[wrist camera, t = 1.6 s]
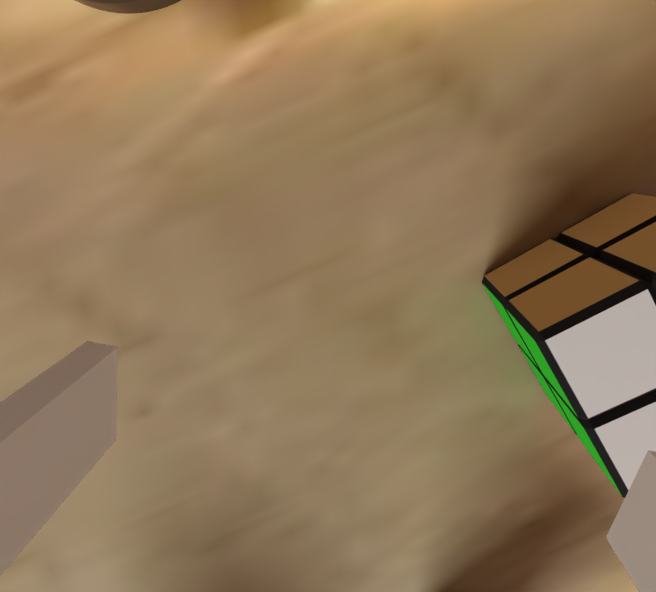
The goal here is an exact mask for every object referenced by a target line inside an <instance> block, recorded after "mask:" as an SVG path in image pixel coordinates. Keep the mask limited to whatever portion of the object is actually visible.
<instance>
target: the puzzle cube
mask: <svg viewBox="0 0 656 592" xmlns="http://www.w3.org/2000/svg"><path fill="white" fill-rule="evenodd" d="M482 284H483V286H484V287H485V289H486V291H487V292H488V294H489V296H490V298H491V299H492V301H493V303H494V305H495V306H496V308H497V310H498V312H499V313H500V315H501V317H502V318H503V320H504V322H505V324H506V325H507V327H508V329H509V331H510V332H511V334H512V336H513V338H514V339H515V340H516V341H517V343H518V346H519V347H520V349H521V351H522V353H523V354H524V356H525V358H526V360H527V361H528V363H529V365H530V367H531V368H532V370H533V372H534V374H535V375H536V377H537V379H538V380H539V382H540V384H541V386H542V387H543V389H544V391H545V393H546V394H547V396H548V398H549V399H550V400H551V402H552V403H553V404H554V406H555V407H556V408H557V410H558V411H559V412H560V414H561V415H562V416H563V418H564V419H565V420H566V422H567V423H568V424H569V426H570V427H571V428H572V430H573V431H574V432H575V434H576V435H578V437H579V438H580V440H581V442H582V443H583V445H584V446H585V447H586V449H587V450H588V451H589V453H590V454H591V455H592V457H593V458H594V459H595V461H596V462H597V463H598V465H599V466H600V467H601V469H602V470H603V471H604V473H605V474H606V476H607V477H608V478H609V480H610V481H611V482H612V484H613V485H614V486H615V488H616V489H617V490H618V492H619V493H620V494H621V496H622V497H624V498H625V497H626V495H627V493H628V491H629V489H630V487H631V485H632V483H633V480H634V478H635V476H636V474H637V472H638V470H639V468H640V466H641V464H642V462H643V460H644V458H645V456H646V454H647V452H648V450H649V451H654V452H656V196H650V195H643V194H637V193H631V194H630V195H628V196H626V197H624V198H622V199H621V200H619V201H617V202H615V203H614V204H612V205H610V206H608V207H606V208H605V209H603V210H601V211H599V212H597V213H596V214H594V215H592V216H590V217H589V218H587V219H585V220H583V221H581V222H580V223H578V224H576V225H574V226H572V227H571V228H569V229H567V230H565V231H564V232H562V233H561V234H560V236H559V239H558V241H557V240H553V239H549V240H547V241H545V242H544V243H542V244H540V245H538V246H536V247H535V248H533V249H531V250H529V251H527V252H526V253H524V254H522V255H520V256H519V257H517V258H515V259H513V260H511V261H510V262H508V263H506V264H504V265H502V266H501V267H499V268H497V269H495V270H494V271H492V272H490V273H488V274H486V275H485V276H484V277H483V280H482Z"/></svg>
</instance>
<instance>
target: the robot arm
mask: <svg viewBox="0 0 656 592" xmlns="http://www.w3.org/2000/svg"><path fill="white" fill-rule="evenodd" d="M75 1H78V2H80V3H82V4H84V5H87V6H90V7H93V8H96V9H99V10H104V11H108V12H115V13H143V12H150V11H154V10H158V9H161V8H164V7H167V6H170V5H172V4H174V3H177V2H178V1H180V0H75ZM117 363H118V347H115V346H110V345H105V344H100V343H94V342H89V341H87V342H86V343H84V344H83V345H81V346H80V347H79V348H77V349H76V350H74V351H73V352H71V353H70V354H69V355H67V356H66V357H64V358H63V359H61V360H60V361H59V362H57V363H56V364H54V365H53V366H51V367H50V368H49V369H47V370H46V371H44V372H43V373H42V374H40V375H39V376H37V377H36V378H34V379H33V380H32V381H30V382H29V383H27V384H26V385H24V386H23V387H22V388H20V389H19V390H17V391H16V392H14V393H13V394H12V395H10V396H9V397H7V398H6V399H5V400H3V401H2V402H0V576H1V575H2V573H3V572H4V571H5V570H6V569H7V567H8V566H9V565H10V564H11V563H12V562H13V560H14V559H15V558H16V557H17V556H18V554H19V553H20V552H21V551H22V550H23V549H24V547H25V546H26V545H27V544H28V543H29V542H30V540H31V539H32V538H33V537H34V536H35V534H36V533H37V532H38V531H39V530H40V529H41V527H42V526H43V525H44V524H45V523H46V522H47V520H48V519H49V518H50V517H51V516H52V514H53V513H54V512H55V511H56V510H57V509H58V507H59V506H60V505H61V504H62V503H63V502H64V500H65V499H66V498H67V497H68V496H69V494H70V493H71V492H72V491H73V490H74V489H75V487H76V486H77V485H78V484H79V483H80V481H81V480H82V479H83V478H84V477H85V476H86V474H87V473H88V472H89V471H90V470H91V469H92V467H93V466H94V465H95V464H96V463H97V461H98V460H99V459H100V458H101V457H102V456H103V454H104V453H105V452H106V451H107V450H108V449H109V447H110V446H111V445H112V444H113V443H114V441H115V440H116V403H117ZM606 539H607V540H608V542H609V544H610V545H611V547H612V548H613V550H614V552H615V553H616V555H617V557H618V558H619V560H620V562H621V563H622V565H623V566H624V568H625V570H626V571H627V573H628V575H629V576H630V578H631V579H632V581H633V583H634V584H635V586H636V588H637V589H638V591H639V592H656V452H654V451H649V450H648V452H647V454H646V456H645V458H644V460H643V462H642V464H641V466H640V468H639V470H638V472H637V474H636V476H635V478H634V480H633V483H632V485H631V487H630V489H629V491H628V493H627V495H626V497H625V499H624V501H623V503H622V505H621V507H620V509H619V511H618V514H617V516H616V518H615V520H614V522H613V524H612V526H611V528H610V530H609V532H608V534H607V536H606Z"/></svg>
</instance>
